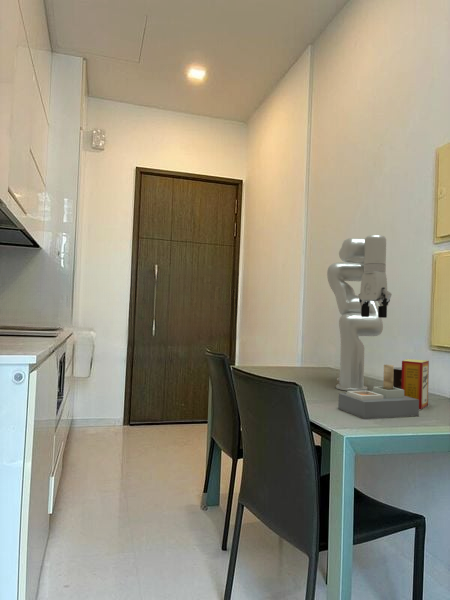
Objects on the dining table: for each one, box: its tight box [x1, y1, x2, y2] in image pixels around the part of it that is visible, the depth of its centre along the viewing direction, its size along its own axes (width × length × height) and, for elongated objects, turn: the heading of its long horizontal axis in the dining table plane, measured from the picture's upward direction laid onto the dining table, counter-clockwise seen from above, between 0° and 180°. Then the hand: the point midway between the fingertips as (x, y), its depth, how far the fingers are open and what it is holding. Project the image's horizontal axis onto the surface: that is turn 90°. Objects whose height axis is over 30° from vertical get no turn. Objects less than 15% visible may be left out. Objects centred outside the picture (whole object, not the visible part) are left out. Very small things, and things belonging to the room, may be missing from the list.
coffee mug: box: [393, 366, 402, 389], centre depth 177 cm, size 12×9×10 cm
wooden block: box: [382, 364, 395, 390], centre depth 145 cm, size 3×3×10 cm
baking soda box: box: [401, 358, 430, 410], centre depth 155 cm, size 10×6×16 cm
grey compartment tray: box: [337, 386, 420, 420], centre depth 143 cm, size 14×20×8 cm
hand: (373, 317), depth 161 cm, fingers open, 9 cm apart
